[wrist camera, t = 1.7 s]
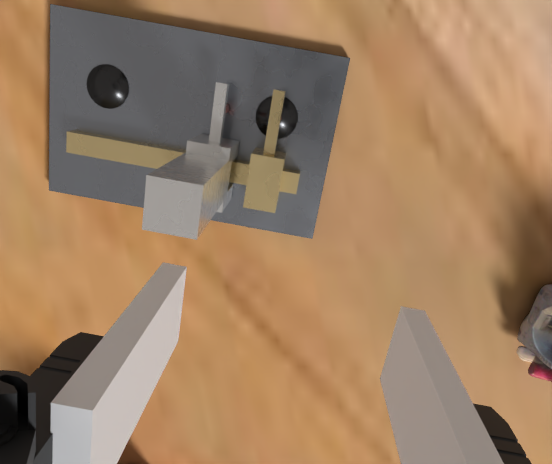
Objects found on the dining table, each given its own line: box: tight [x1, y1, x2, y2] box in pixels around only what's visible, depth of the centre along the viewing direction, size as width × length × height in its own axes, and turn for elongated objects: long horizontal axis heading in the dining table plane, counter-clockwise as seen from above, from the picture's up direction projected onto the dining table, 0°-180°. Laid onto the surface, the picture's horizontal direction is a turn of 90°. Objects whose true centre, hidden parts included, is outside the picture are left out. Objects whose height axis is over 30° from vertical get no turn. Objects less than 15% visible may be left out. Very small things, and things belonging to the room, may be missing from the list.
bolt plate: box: [49, 4, 350, 239], centre depth 35 cm, size 14×22×1 cm, turn 80°
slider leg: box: [142, 82, 240, 239], centre depth 29 cm, size 9×3×12 cm, turn 170°
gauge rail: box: [66, 89, 300, 213], centre depth 33 cm, size 8×18×3 cm, turn 80°
